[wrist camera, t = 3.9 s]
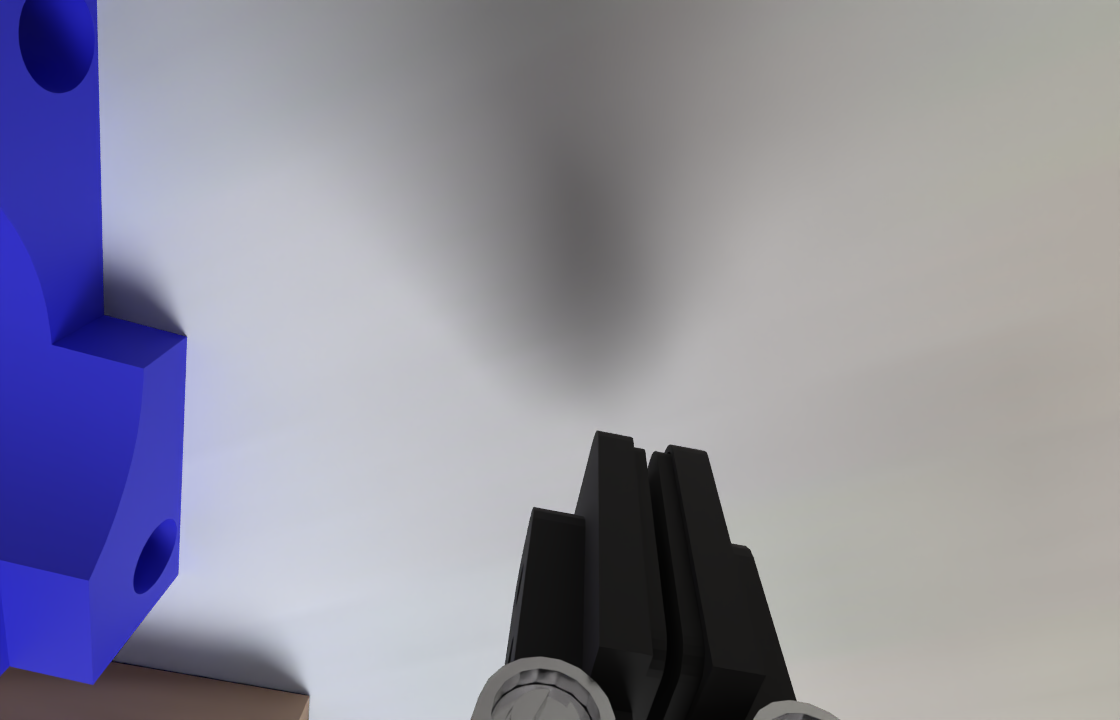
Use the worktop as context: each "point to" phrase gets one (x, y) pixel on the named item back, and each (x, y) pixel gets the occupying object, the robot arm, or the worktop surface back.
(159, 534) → the cable clip
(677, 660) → the robot arm
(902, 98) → the worktop surface
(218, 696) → the guide channel
